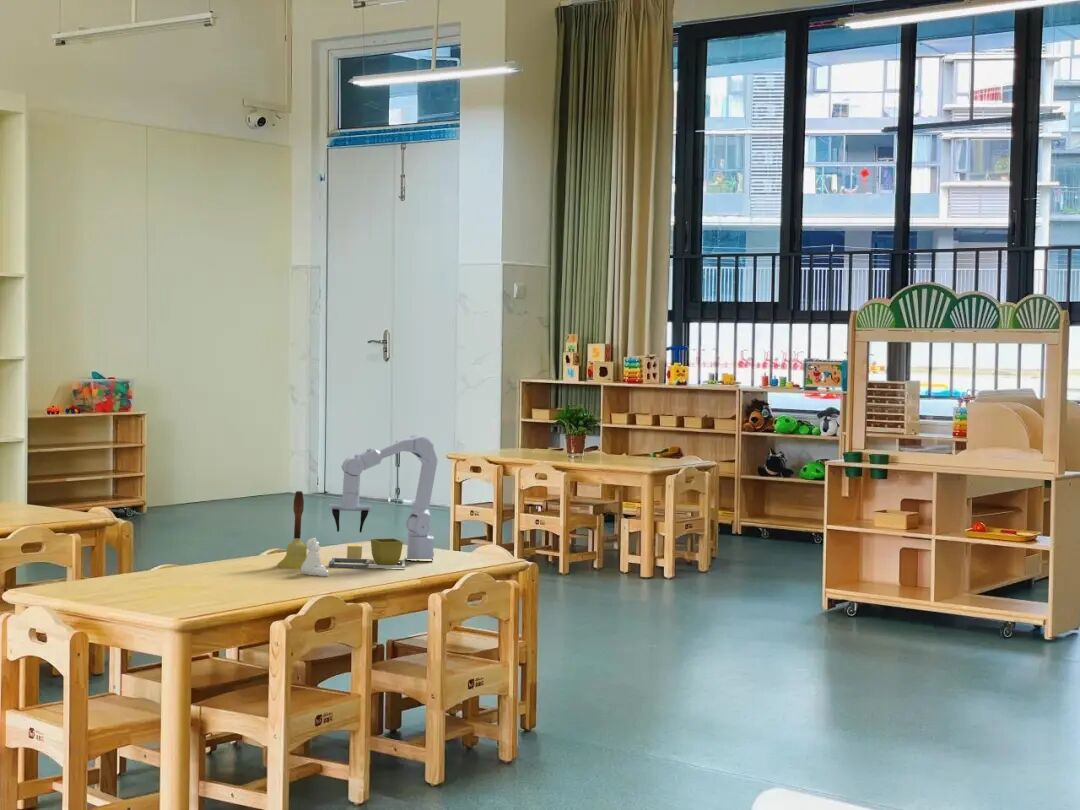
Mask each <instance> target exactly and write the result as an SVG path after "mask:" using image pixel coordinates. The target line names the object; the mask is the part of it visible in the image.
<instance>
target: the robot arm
mask: <svg viewBox="0 0 1080 810" xmlns="http://www.w3.org/2000/svg"><path fill="white" fill-rule="evenodd" d="M401 452H407V453H408V452H410V453H412V454H413V455H414V456H415V457H417V459H418V460H419V461H420V462H421V467H420V473H419V478H418V484H417V489H416V493H415V494H416V495H415V499H414V504H413V505H414V506H413V507H412V508H411V510H410V514H409V517H408V518H407V520H406V523H405V526H406V529H407V530H408V533H407V550H406V556H407V558H406V557H405V561H406V560H407V559H433V560H434V557H435V551H434V544H435V543H434V542H435V541H434V540H435V539H434V536H433V535H429V533H430V532H431V529H432V523H431V513H430V503H431V500H432V493H433V488H434V483H435V476H436V471H437V465H438V458H437V455H436V452H435V449H434V443H433V442H432V441H431V440H430V439H429V438H427V437H425V436H420V435H417V434H414V435H410V436H408V437H404V438H402V439H400V440H398V441H395V442H393V443H391V444H389V445H387V446H385V447H383V448H380V449H379V450H378V449H376V448H367V449H366V451H364V452H362V453H360V454H357V453H356V454H354V456H353V457H348V458H346V459H344V460H343V462H342V464H341V470H342V472H343V479H342V481H343V483H342V484H343V485H342V500H341V501H342V502H341V503H342V504H341V503H340V504H338V503H337V504H336V503H335V504H333V503H330V504H328V510H329V511H331V514H332V516H333V518H334V522H335V524H336V532H338V533H339V532H340V514H341V511H344V512H346V511H348V512H349V511H350V512H360V524H359V533H362V531H363V527H364V523H365V521H366V519H367V517H368V515H369V513H371V512H372V511H373V510H372V508H373V505H367V504H365V505H364V504H360V489H361V488H360V487H361V474H362V472H363V471H366V470H368V469H370V468H374V467H375V466H377V465H380V464H381V462H382V460H383V459H385V458H388V457H391V456H393V455H396V454H399V453H401Z"/></svg>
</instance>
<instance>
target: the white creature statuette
mask: <svg viewBox="0 0 1080 810" xmlns="http://www.w3.org/2000/svg"><path fill="white" fill-rule="evenodd" d="M305 545H306V547H307V551H308V552H307V554H306V555H307V557H306V560H305V561H304V562H303V564H302V566H301V568H300V569H301V572H302V574H304V575H305V574H309V575H308V576H310V575H319V576H318V577H323V576H327V577H329V575H330V574H329V573H330V571H329V570H328V569H327V566H325V565H323V564H321V556H320V551H319V550H321V547H320V542H318V540H317V538H316V537H311V538H310V539H308V540H307V541H306V543H305Z"/></svg>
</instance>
